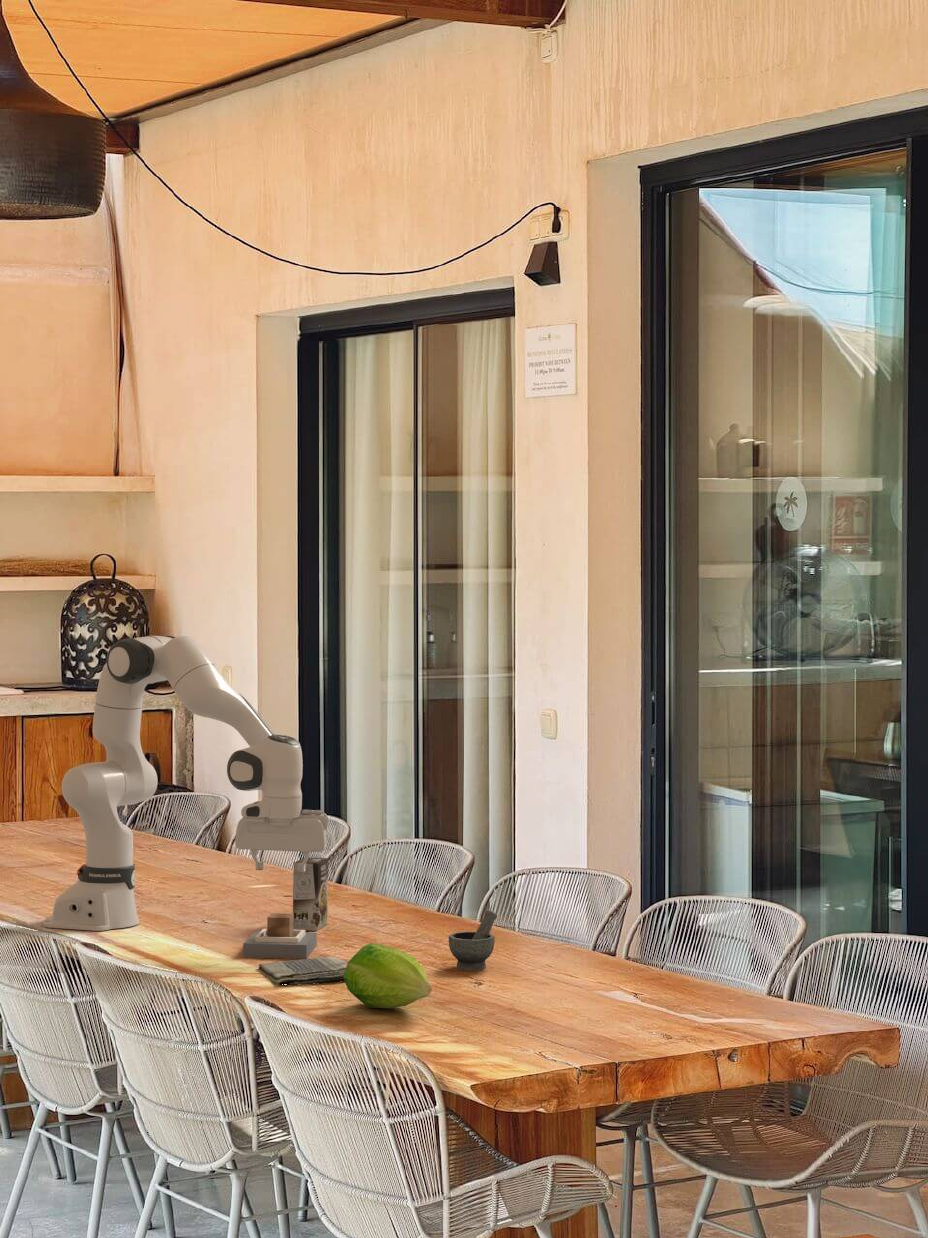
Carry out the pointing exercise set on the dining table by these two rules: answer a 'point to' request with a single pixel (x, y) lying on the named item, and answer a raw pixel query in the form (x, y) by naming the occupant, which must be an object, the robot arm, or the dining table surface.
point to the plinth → (280, 945)
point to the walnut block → (280, 925)
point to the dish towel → (305, 971)
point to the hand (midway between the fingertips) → (280, 870)
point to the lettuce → (386, 977)
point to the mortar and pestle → (474, 945)
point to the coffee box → (310, 894)
